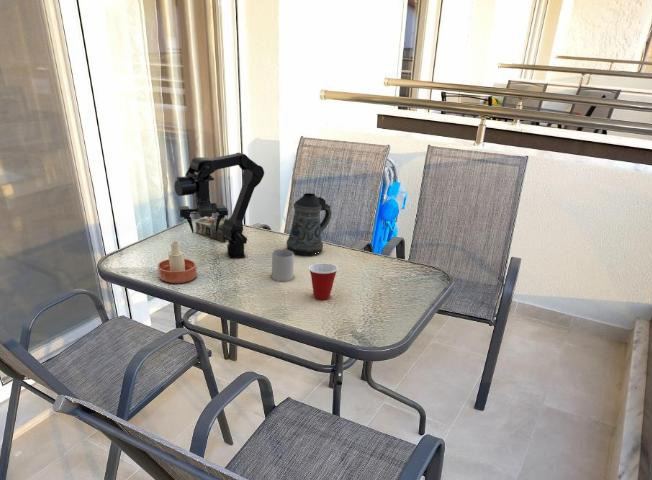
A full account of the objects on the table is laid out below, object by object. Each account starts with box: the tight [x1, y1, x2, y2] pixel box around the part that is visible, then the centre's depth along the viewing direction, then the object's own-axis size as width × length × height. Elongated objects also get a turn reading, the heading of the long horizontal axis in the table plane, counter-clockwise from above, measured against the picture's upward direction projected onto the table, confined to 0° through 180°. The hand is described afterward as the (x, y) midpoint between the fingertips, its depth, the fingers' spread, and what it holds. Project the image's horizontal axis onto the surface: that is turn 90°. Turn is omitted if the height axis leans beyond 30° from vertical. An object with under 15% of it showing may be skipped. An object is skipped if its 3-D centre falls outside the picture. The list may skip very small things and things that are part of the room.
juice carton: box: [194, 217, 226, 243], centre depth 239 cm, size 20×10×6 cm, turn 54°
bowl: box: [157, 258, 198, 284], centre depth 195 cm, size 14×14×5 cm
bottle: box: [168, 240, 185, 272], centre depth 193 cm, size 6×6×13 cm
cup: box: [271, 249, 295, 282], centre depth 200 cm, size 8×8×10 cm
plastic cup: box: [308, 262, 339, 301], centre depth 186 cm, size 11×11×12 cm
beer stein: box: [286, 192, 332, 257], centre depth 225 cm, size 16×19×25 cm
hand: (204, 232), depth 204 cm, fingers open, 9 cm apart
